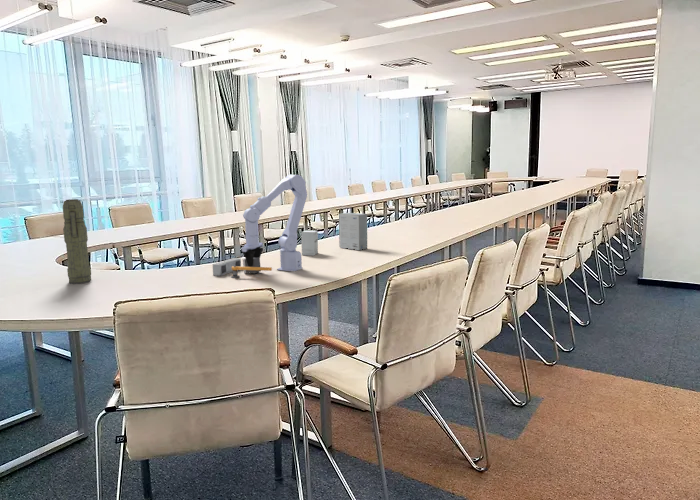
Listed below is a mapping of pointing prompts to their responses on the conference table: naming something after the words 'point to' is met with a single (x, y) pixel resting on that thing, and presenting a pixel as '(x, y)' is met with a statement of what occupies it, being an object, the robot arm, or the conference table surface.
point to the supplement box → (309, 242)
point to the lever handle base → (235, 274)
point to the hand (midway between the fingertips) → (253, 264)
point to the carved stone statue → (76, 242)
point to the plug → (255, 264)
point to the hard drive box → (353, 231)
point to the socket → (225, 266)
